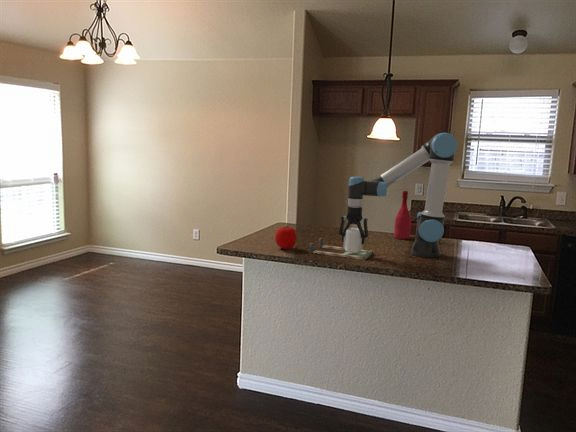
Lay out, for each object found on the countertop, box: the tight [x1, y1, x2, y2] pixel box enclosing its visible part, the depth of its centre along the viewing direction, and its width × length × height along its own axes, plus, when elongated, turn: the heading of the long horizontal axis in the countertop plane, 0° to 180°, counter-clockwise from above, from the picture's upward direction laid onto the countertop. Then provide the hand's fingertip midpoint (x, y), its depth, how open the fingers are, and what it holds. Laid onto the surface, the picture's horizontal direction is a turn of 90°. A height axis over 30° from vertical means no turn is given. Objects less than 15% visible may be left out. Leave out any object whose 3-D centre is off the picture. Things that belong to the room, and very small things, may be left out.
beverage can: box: [345, 227, 361, 253], centre depth 246 cm, size 8×8×12 cm
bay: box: [309, 237, 374, 261], centre depth 250 cm, size 30×17×5 cm, turn 67°
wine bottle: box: [393, 190, 412, 240], centre depth 292 cm, size 10×10×30 cm
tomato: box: [274, 225, 297, 250], centre depth 255 cm, size 12×12×13 cm
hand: (352, 248), depth 247 cm, fingers closed on beverage can, 8 cm apart
